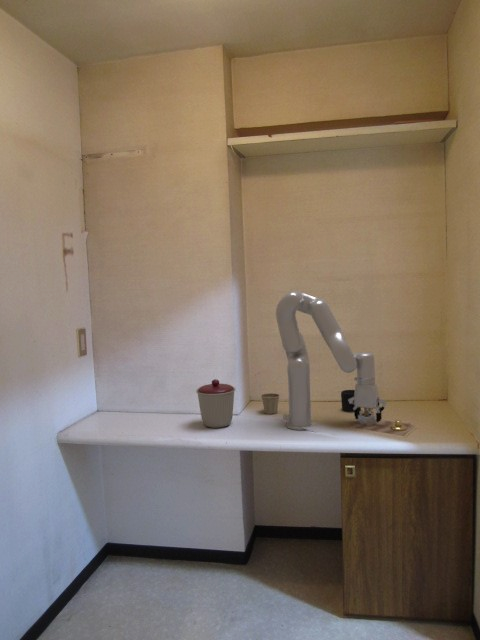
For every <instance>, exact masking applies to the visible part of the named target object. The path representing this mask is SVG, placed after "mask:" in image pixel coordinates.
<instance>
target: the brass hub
mask: <svg viewBox="0 0 480 640" xmlns="http://www.w3.org/2000/svg"><path fill="white" fill-rule="evenodd" d="M394 422H395V424H394V425H391V426H390V429H392V430H395V431H404V430H407V427H406V426H405V425H401V423H402V420H400V419H395V420H394Z"/></svg>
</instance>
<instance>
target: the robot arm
mask: <svg viewBox="0 0 480 640" xmlns="http://www.w3.org/2000/svg"><path fill="white" fill-rule="evenodd" d="M297 311H298V312H301V313H303V314H307V315H309V316H311V317H312V320H313V322H314V323H315V325H316V327H317V329H318V331H319V333H320V335H321V336H322V338H323V340H324V342H325V344H326V345H327V346H328V348H329V350H330V352H331V353H332V355H333V357H334V359H335V362H337V365H338V367H339V369H340V370H341V371H342V372H344V373H349V374H350V373H353V372H354V371H355V370H356V377H354V381H355V382H356V383H355V385H354V386H355V387H354V390H355V392H354V397H352V398H350V399H348V401H349V403H350V406H351V407H352V408H353V410H354V412H353V415H354V417H355V418H354V419H355V420H358V414H359V413H361V411H359V409H358V408H359V407H361V409H362V408H363V409H364V408H371V409H374V410H375V411H376V413H375V416H376V421H377V422H379V421H381V420H383V419H382V418H383V417H382V412H383V411H384V410H385V409H386V408H387V405H388V402H386V401H385V400H384V399H382V398H380V393H379V388H378V387H379V386H378V384H377V383H376V370H375V369H376V368H375V356H374V354H373V352H369V351H368V352H367V351H366V352H364V351H362V352H353V351H352V350H351V348H350V346H349V343H348V342H347V340H346V338H345V336H344V332H343V331H342V328H341V327H340V325H339V323H338V321H337V319H336V318H335V316H334V314H333V312H332V310H331V308H330V306H329V304H328V303H327V301H325V300H324V299H322V298H319V297H316V296H312V295H310V294H307V293H304V292H302V291H299V290H291V291H289V292H287V293H286V294H285V295H284V296H283V297H281V299H280V300H279V301H278V303H277V306H276V309H275V318H276V323H277V327H278V332H279V335H280V339H281V345H282V347H283V350H284V352H285V355H286V358H287V362H288V363H287V369H286V370H287V385H288V388H287V389H288V410H289V411H288V412H289V414H288V413H287V414H286V413H284V414H283V415H282V420H286V425H285V427H287V429H289V430H294V431H306V430H307V428H311V427H313V426H314V425H315V422H314V421H313V420H312V410H311V409H312V407H311V406H312V405H311V378H310V377H311V376H310V374H311V372H310V371H311V369H310V368H311V365H310V358H309V354H308V350H307V347H306V343H305V342H306V341H305V340H304V336H303V334H302V333H301V332H300V328H299V325H298V321H297V320H298V319H297V318H296V313H297ZM353 400H354V403H353ZM380 404H381V406H380Z"/></svg>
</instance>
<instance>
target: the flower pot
mask: <svg viewBox="0 0 480 640" xmlns="http://www.w3.org/2000/svg"><path fill="white" fill-rule="evenodd" d="M280 396H281V395H280V394H279V393H276V392H271V393H263V394H260V397H261V400H262V405H263V410H264V411H263V412H264V414H267V415H273V414H277V413H278V405H279V399H280Z"/></svg>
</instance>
